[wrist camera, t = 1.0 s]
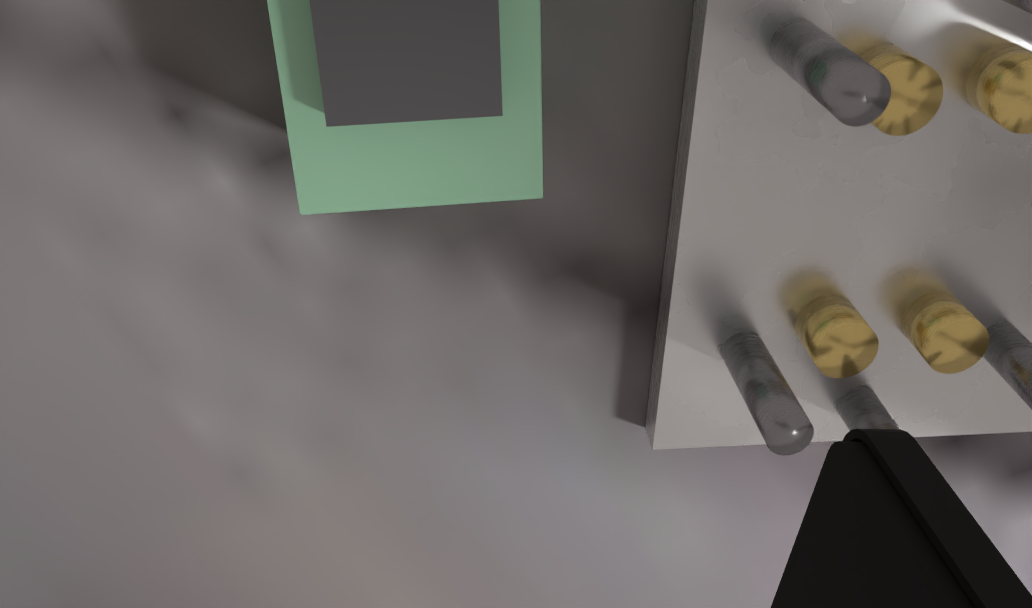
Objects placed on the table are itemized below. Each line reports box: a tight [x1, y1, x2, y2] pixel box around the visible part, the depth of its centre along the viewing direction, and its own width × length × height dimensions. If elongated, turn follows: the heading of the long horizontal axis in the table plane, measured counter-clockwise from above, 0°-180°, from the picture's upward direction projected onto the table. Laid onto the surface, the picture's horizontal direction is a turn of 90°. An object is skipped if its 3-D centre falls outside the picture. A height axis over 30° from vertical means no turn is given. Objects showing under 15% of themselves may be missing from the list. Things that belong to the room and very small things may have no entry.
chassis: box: [645, 0, 1032, 455], centre depth 28 cm, size 18×14×6 cm
